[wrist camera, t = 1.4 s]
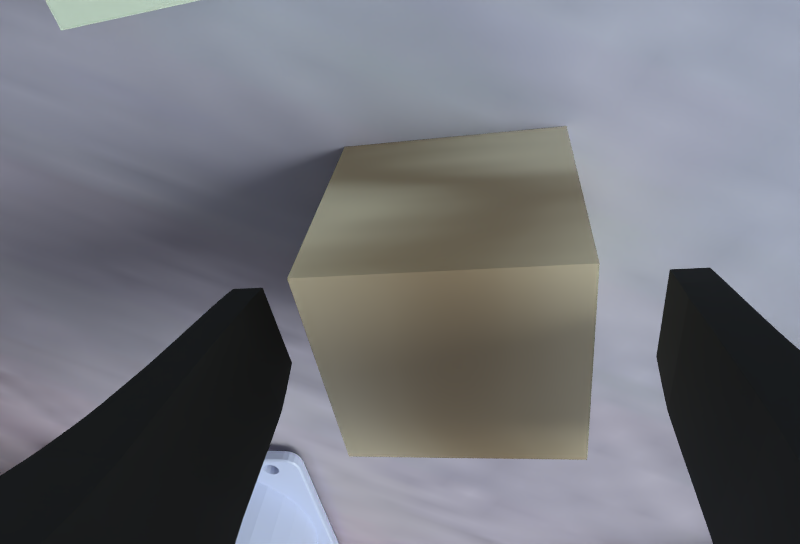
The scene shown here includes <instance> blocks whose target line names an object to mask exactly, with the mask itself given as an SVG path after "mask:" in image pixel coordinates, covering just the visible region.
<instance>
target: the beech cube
mask: <svg viewBox="0 0 800 544" xmlns="http://www.w3.org/2000/svg"><path fill="white" fill-rule="evenodd" d="M598 278H599V260H598V255H597V251H596V247H595V243H594V239H593V235H592V230H591V226H590V222H589V218H588V214H587V210H586V205H585V201H584V197H583V193H582V189H581V185H580V181H579V176H578V172H577V168H576V164H575V160H574V156H573V151H572V147H571V143H570V139H569V135H568V131H567V126H563V127H552V128H542V129H531V130H520V131H509V132H499V133H488V134H477V135H466V136H456V137H445V138H434V139H423V140H413V141H402V142H391V143H381V144H370V145H359V146H348V147H344V150H343V152H342V154H341V156H340V159H339V161H338V163H337V166H336V168H335V170H334V172H333V175H332V177H331V179H330V182H329V184H328V186H327V188H326V191H325V193H324V195H323V198H322V200H321V202H320V204H319V207H318V209H317V211H316V214H315V216H314V218H313V220H312V223H311V225H310V227H309V230H308V232H307V234H306V236H305V239H304V241H303V243H302V246H301V248H300V250H299V253H298V255H297V257H296V259H295V262H294V264H293V266H292V269H291V271H290V273H289V275H288V278H287V280H288V282H289V285H290V288H291V291H292V294H293V297H294V300H295V303H296V305H297V308H298V311H299V314H300V317H301V320H302V323H303V325H304V328H305V331H306V334H307V337H308V340H309V343H310V346H311V348H312V351H313V354H314V357H315V360H316V363H317V366H318V369H319V371H320V374H321V377H322V380H323V383H324V386H325V389H326V391H327V394H328V397H329V400H330V403H331V406H332V409H333V412H334V414H335V417H336V420H337V423H338V426H339V429H340V432H341V435H342V437H343V440H344V443H345V446H346V449H347V452H348V455H349V456H353V457H428V458H503V459H577V460H587V452H588V436H589V420H590V405H591V389H592V373H593V357H594V341H595V325H596V310H597V294H598Z"/></svg>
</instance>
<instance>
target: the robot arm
mask: <svg viewBox="0 0 800 544" xmlns="http://www.w3.org/2000/svg"><path fill="white" fill-rule="evenodd" d="M657 362H658V367H659V372H660V377H661V382H662V387H663V392H664V396H665V401H666V405H667V410H668V413H669V416H670V419H671V422H672V425H673V428H674V431H675V434H676V437H677V440H678V443H679V446H680V449H681V452H682V455H683V458H684V460H685V463H686V466H687V469H688V472H689V475H690V478H691V481H692V483H693V486H694V489H695V492H696V495H697V498H698V501H699V504H700V507H701V509H702V512H703V515H704V518H705V521H706V524H707V527H708V530H709V532H710V535H711V539H712V542H713V544H800V350H799V349H798V348H797V347H795V346H794V345H793V344H792V343H791V342H790V341H789V340H787V339H786V338H785V337H784V336H783V335H782V334H781V333H780V332H779V331H777V330H776V329H775V328H774V327H773V326H772V325H771V324H770V323H769V322H768V321H766V320H765V319H764V318H763V317H762V316H761V315H760V314H759V313H758V312H757V311H756V310H755V309H754V308H752V307H751V306H750V305H749V304H748V303H747V302H746V301H745V300H744V299H743V298H742V297H741V296H740V295H739V294H738V293H737V292H736V291H735V290H733V289H732V288H731V287H730V286H729V285H728V284H727V283H726V282H725V281H724V280H723V279H722V278H721V277H720V276H719V275H717V274H716V273H715V272H714V271H713V270H712V269H711V268H694V269H671V270H670V273H669V279H668V285H667V292H666V298H665V305H664V311H663V318H662V324H661V331H660V337H659V344H658V350H657ZM291 365H292V362H291V360H290V357H289V354H288V352H287V349H286V347H285V344H284V342H283V339H282V336H281V334H280V331H279V329H278V326H277V324H276V321H275V318H274V316H273V313H272V311H271V308H270V306H269V303H268V301H267V298H266V295H265V293H264V290H263V288H248V289H233V290H231V291H230V292H229V293H228V294H226V295H225V296H224V297H223V298H222V299H220V300H219V301H218V302H217V303H216V304H215V305H214V306H213V307H211V308H210V309H209V310H208V311H207V312H206V313H205V314H204V315H203V316H201V317H200V318H199V319H198V320H197V321H196V322H195V323H194V324H193V325H192V326H191V327H189V328H188V329H187V330H186V331H185V332H184V333H183V334H182V335H181V336H180V337H179V338H177V339H176V340H175V341H174V342H173V343H172V344H171V345H170V346H169V347H167V348H166V349H165V350H164V351H163V352H162V353H161V354H160V355H159V356H157V357H156V358H155V359H154V360H153V361H152V362H151V363H150V364H149V365H147V366H146V367H145V368H144V369H143V370H142V371H140V372H139V373H138V374H137V375H136V376H134V377H133V378H132V379H131V380H130V381H128V382H127V383H126V384H125V385H124V386H122V387H121V388H120V389H119V390H118V391H116V392H115V393H114V394H113V395H112V396H110V397H109V398H108V399H107V400H106V401H105V402H103V403H102V404H101V405H100V406H98V407H97V408H96V409H95V410H93V411H92V412H91V413H90V414H88V415H87V416H86V417H84V418H83V419H82V420H80V421H79V422H78V423H76V424H75V425H74V426H73V427H71V428H70V429H68V430H67V431H66V432H64V433H63V434H61V435H60V436H59V437H57V438H56V439H55V440H53V441H52V442H50V443H49V444H48V445H46V446H45V447H43V448H42V449H41V450H39V451H38V452H36V453H35V454H33V455H32V456H30V457H29V458H27V459H26V460H24V461H23V462H21V463H20V464H18V465H16V466H15V467H13V468H12V469H10V470H9V471H7V472H6V473H4V474H2V475H1V476H0V544H339V543H338V541H337V539H336V536H335V534H334V532H333V529H332V527H331V525H330V522H329V520H328V518H327V516H326V513H325V511H324V509H323V506H322V504H321V502H320V499H319V497H318V495H317V492H316V490H315V488H314V485H313V483H312V481H311V478H310V476H309V474H308V472H307V469H306V467H305V465H304V462H303V460H302V459H301V458H300V456H298V455H297V454H295V453H292V452H288V451H268V449H269V446H270V443H271V440H272V437H273V435H274V432H275V429H276V426H277V423H278V420H279V417H280V414H281V411H282V407H283V403H284V399H285V394H286V390H287V385H288V380H289V375H290V370H291Z"/></svg>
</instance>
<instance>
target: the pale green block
mask: <svg viewBox="0 0 800 544" xmlns="http://www.w3.org/2000/svg"><path fill="white" fill-rule="evenodd" d="M45 1H46V3H47V5H48V6H49V8H50V10H51V12H52V14H53V16H54V18H55V20H56V21H57V23H58V25H59V27H60V29H61V31H62V30H66V29H71V28H76V27H80V26H85V25H89V24H94V23H98V22H103V21H108V20H112V19H117V18H121V17H126V16H130V15H135V14H140V13H144V12H149V11H153V10H158V9H162V8H167V7H172V6H176V5H181V4H185V3H190V2H194V1H199V0H45Z"/></svg>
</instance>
